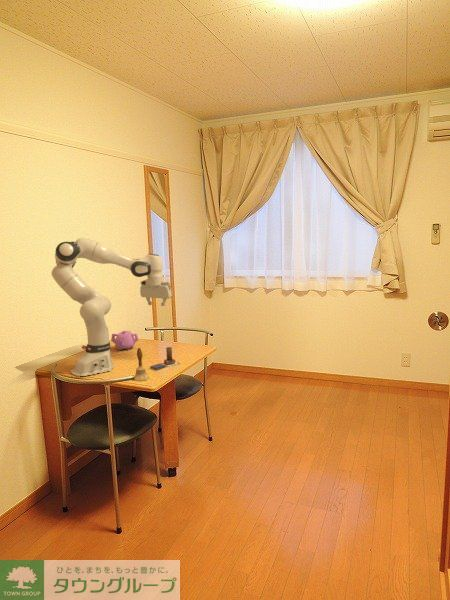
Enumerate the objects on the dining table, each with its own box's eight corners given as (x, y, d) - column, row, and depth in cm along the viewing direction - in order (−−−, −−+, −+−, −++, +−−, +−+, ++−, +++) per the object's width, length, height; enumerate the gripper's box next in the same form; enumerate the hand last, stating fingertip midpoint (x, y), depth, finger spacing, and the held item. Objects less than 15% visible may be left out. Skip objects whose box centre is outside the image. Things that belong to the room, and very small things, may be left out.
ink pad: (156, 370, 219) (156, 368, 219) (150, 368, 223) (149, 366, 222) (165, 367, 223) (165, 365, 223) (159, 365, 227) (159, 363, 227)
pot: (116, 344, 272) (115, 327, 270) (142, 344, 271) (141, 327, 269) (107, 352, 254) (106, 334, 252) (135, 352, 253) (134, 334, 252)
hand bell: (143, 382, 202) (142, 351, 200) (129, 380, 205) (127, 349, 203) (152, 376, 210) (151, 346, 207) (138, 374, 213) (137, 345, 210)
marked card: (168, 367, 223) (168, 366, 223) (159, 364, 229) (159, 364, 228) (180, 363, 230) (180, 363, 230) (171, 361, 235) (171, 360, 235)
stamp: (167, 365, 226) (166, 349, 224) (164, 363, 229) (163, 347, 228) (175, 363, 229) (174, 347, 227) (172, 362, 232) (171, 346, 230)
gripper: (173, 281, 235) (174, 305, 237) (144, 280, 244) (146, 303, 246) (167, 283, 229) (168, 307, 231) (138, 281, 238) (139, 305, 241)
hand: (156, 305), depth 239 cm, fingers open, 8 cm apart
